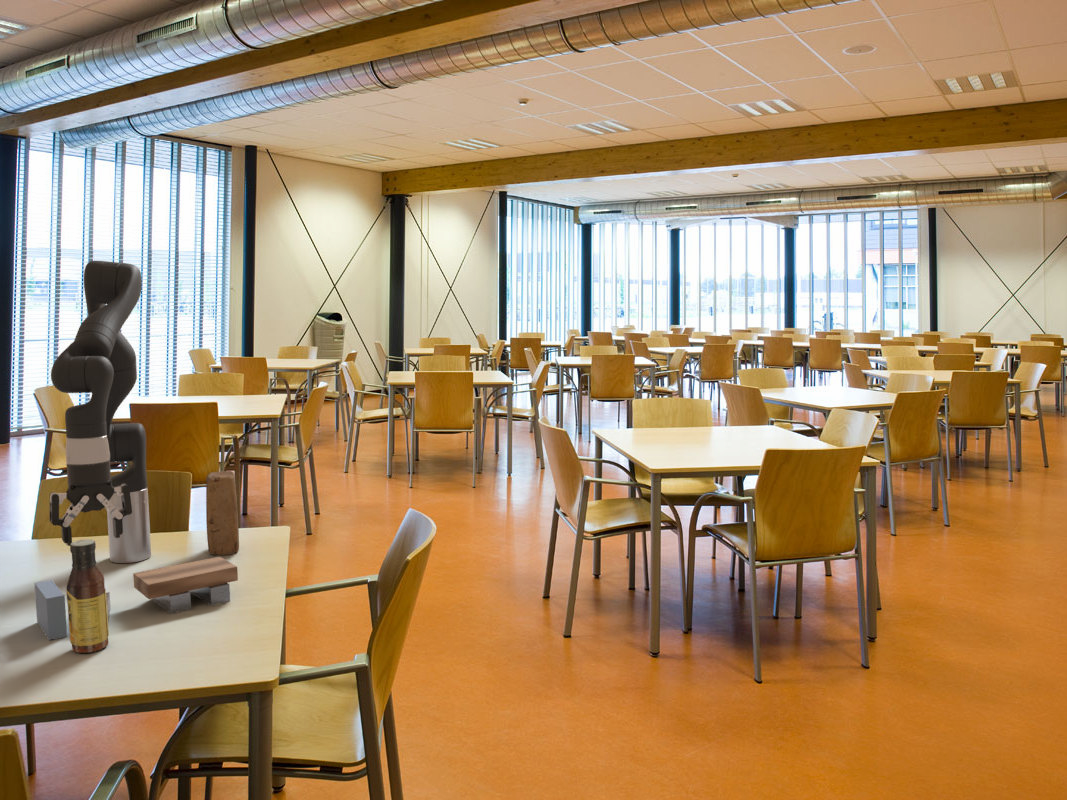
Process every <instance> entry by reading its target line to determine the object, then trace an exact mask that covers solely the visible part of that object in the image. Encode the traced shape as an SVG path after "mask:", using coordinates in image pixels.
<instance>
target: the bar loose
mask: <svg viewBox="0 0 1067 800" xmlns="http://www.w3.org/2000/svg"><path fill="white" fill-rule="evenodd" d="M106 602H107V615H108V621H109V619H110V615H111V595H110V591H109V592H108V591H106Z"/></svg>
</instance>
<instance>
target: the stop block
mask: <svg viewBox="0 0 1067 800" xmlns="http://www.w3.org/2000/svg"><path fill="white" fill-rule="evenodd" d="M34 595H35V609H36V622H38V623H37V624H38V626H39V625H40V626H39V627H40V629H41V628H42V629H41V630H42V632H43V631H44V632H43V634H44V635H45V634H46V635H45V637H46V638H47V637H48V638H47V639H48V641H52V640H51V639H54V640H59V639H62V637H63V638H67V637H68V625H67V611H66V610H67V609H66V598H65V595H66V594H65V593H64V592H62V590H61V589H60V588H59V586H57V584H56V583H55V582H54V581H53V579H48V580H42V581H37V582H34ZM58 638H59V639H58Z"/></svg>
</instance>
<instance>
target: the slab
mask: <svg viewBox="0 0 1067 800" xmlns="http://www.w3.org/2000/svg"><path fill="white" fill-rule="evenodd" d="M238 575H239V574H238V566H237V565H235V564H233V563H232V562H230V561H228V560H227V559H225V558H223V557H221V556H216V557H210V558H205V559H199V560H196V561H195V560H194V561H190V562H185V563H184V562H183V563H180V564H178V563H177V564H175V565H169V566H164V567H163V566H162V567H160V568H159V567H158V568H154V569H148V570H143V571H137V572H133V574H132V577H133V588H134V589H135V590H137V591H138V592H139V593H140V594H142V595H143V596H144V597H145V598H146V599H148V600H152V599H153V598H158V597H163V596H167V595H172V594H177V593H181V592H186V591H191V590H195V589H200V588H205V587H210V586H214V585H219V584H224V583H228V584H229V583H232V582H236V581H238V580H239V577H238Z"/></svg>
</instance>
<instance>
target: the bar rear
mask: <svg viewBox="0 0 1067 800" xmlns="http://www.w3.org/2000/svg"><path fill="white" fill-rule="evenodd" d="M230 588H231V587H230V583H229V582H228V583H224V584H219V585H214V586H210V587H205V588H200V589H195V590H191V591H189V592H190V594H192V595H193V596H195V597H196V598H198V599H200V600H202V601H203V602H205V603H206V604H208V605H209V606H212V607H213V606H215V605H216V606H217V605H220V604H224V603H230V602H231V591H230Z"/></svg>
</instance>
